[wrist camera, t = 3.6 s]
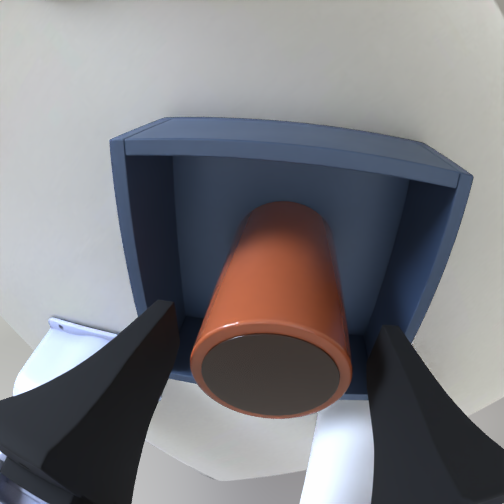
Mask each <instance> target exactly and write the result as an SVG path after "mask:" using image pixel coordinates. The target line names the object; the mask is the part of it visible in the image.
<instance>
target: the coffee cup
mask: <svg viewBox="0 0 504 504" xmlns="http://www.w3.org/2000/svg"><path fill="white" fill-rule="evenodd" d="M190 369H191V372H192V375H193V378H194V380H195V381H196V383H197V384H198V386H199V387H200V388H201V389H202V390H203V392H204V393H206V394H207V395H208V396H209V397H210V398H212V399H213V400H214V401H216V402H218V403H219V404H221V405H223V406H225V407H227V408H229V409H231V410H234V411H237V412H239V413H243V414H246V415H250V416H255V417H261V418H271V419H285V418H296V417H302V416H306V415H310V414H313V413H316V412H319V411H321V410H323V409H325V408H327V407H329V406H331V405H332V404H334V403H335V402H337V401H338V400H339V399H340V398H341V397H342V396H343V395H344V394H345V392H346V391H347V389H348V387H349V386H350V383H351V380H352V376H353V367H352V358H351V349H350V341H349V332H348V325H347V317H346V310H345V303H344V296H343V290H342V283H341V277H340V271H339V265H338V259H337V253H336V247H335V242H334V237H333V234H332V231H331V229H330V227H329V225H328V224H327V222H326V221H325V220H324V218H323V217H322V216H321V215H319V214H318V213H317V212H316V211H314V210H313V209H311V208H309V207H307V206H305V205H302V204H299V203H295V202H289V201H278V202H271V203H267V204H264V205H261V206H259V207H257V208H255V209H254V210H253V211H251V212H250V213H249V214H248V215H246V216H245V217H244V219H243V220H242V221H241V223H240V224H239V226H238V228H237V231H236V233H235V236H234V238H233V241H232V244H231V246H230V249H229V251H228V254H227V257H226V259H225V262H224V265H223V267H222V270H221V273H220V275H219V278H218V281H217V283H216V286H215V289H214V292H213V294H212V297H211V300H210V302H209V305H208V308H207V311H206V313H205V316H204V319H203V321H202V324H201V327H200V330H199V333H198V335H197V338H196V341H195V344H194V346H193V349H192V352H191V356H190Z"/></svg>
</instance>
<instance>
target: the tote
mask: <svg viewBox="0 0 504 504" xmlns="http://www.w3.org/2000/svg"><path fill="white" fill-rule="evenodd" d="M110 153H111V163H112V173H113V181H114V190H115V197H116V205H117V212H118V218H119V225H120V231H121V237H122V243H123V248H124V254H125V259H126V264H127V269H128V274H129V279H130V284H131V288H132V293H133V297H134V302H135V306H136V310H137V314H138V317H139V316H140V315H141V314H142V313H143V312H144V311H145V310H147V309H148V308H149V307H150V306H151V305H152V304H153V303H155V302H156V301H157V300H158V299H159V300H165V301H171V302H174V304H175V311H176V317H177V324H178V331H179V337H180V345H179V349H178V352H177V356H176V359H175V363H174V366H173V369H172V371H171V373H170V376H169V378H170V379H175V380H179V381H185V382H190V383H195V384H197V383H196V381H195V380H194V378H193V375H192V372H191V369H190V356H191V352H192V349H193V346H194V344H195V341H196V338H197V335H198V333H199V330H200V327H201V324H202V321H203V319H204V316H205V313H206V311H207V308H208V305H209V302H210V300H211V297H212V294H213V292H214V289H215V286H216V283H217V281H218V278H219V275H220V273H221V270H222V267H223V265H224V262H225V259H226V257H227V254H228V251H229V249H230V246H231V244H232V241H233V238H234V236H235V233H236V231H237V228H238V226H239V224H240V223H241V221H242V220H243V219H244V217H245V216H246V215H248V214H249V213H250V212H251V211H253V210H254V209H255V208H257V207H259V206H261V205H264V204H267V203H271V202H278V201H289V202H295V203H299V204H302V205H305V206H307V207H309V208H311V209H313V210H314V211H316V212H317V213H318V214H319V215H321V216H322V217H323V218H324V220H325V221H326V222H327V224H328V225H329V227H330V229H331V231H332V234H333V237H334V242H335V247H336V253H337V259H338V265H339V271H340V277H341V283H342V290H343V296H344V303H345V310H346V317H347V325H348V332H349V341H350V349H351V358H352V367H353V376H352V380H351V383H350V386H349V387H348V389H347V391H346V392H345V394H344V395H343V396H342V397H341V398H340V399H339V400H368V393H367V377H366V362H367V360H368V358H369V356H370V353H371V351H372V349H373V346H374V344H375V342H376V339H377V337H378V335H379V332H380V330H381V327H382V325H396V326H399V327H400V329H401V330H402V331H403V333H404V334H405V336H406V337H407V339H408V340H409V342H410V343H412V341H413V339H414V337H415V335H416V333H417V331H418V329H419V327H420V325H421V323H422V321H423V319H424V317H425V314H426V312H427V310H428V308H429V305H430V303H431V301H432V299H433V296H434V294H435V292H436V289H437V287H438V284H439V282H440V279H441V277H442V274H443V272H444V269H445V267H446V264H447V261H448V259H449V256H450V253H451V250H452V248H453V245H454V242H455V239H456V236H457V233H458V230H459V227H460V224H461V220H462V217H463V214H464V211H465V207H466V204H467V200H468V197H469V193H470V189H471V185H472V181H473V175H471V174H470V173H469V172H467V171H466V170H464V169H463V168H461V167H460V166H459V165H457V164H456V163H454V162H453V161H451V160H450V159H448V158H447V157H445V156H444V155H442V154H441V153H439V152H437V151H436V150H434V149H433V148H431V147H430V146H428V145H426V144H425V143H422V142H418V141H413V140H409V139H404V138H399V137H394V136H389V135H383V134H378V133H372V132H366V131H360V130H354V129H347V128H340V127H333V126H325V125H317V124H308V123H298V122H288V121H276V120H262V119H244V118H217V117H166V118H162V119H159V120H157V121H154V122H151V123H149V124H146V125H144V126H141V127H139V128H136V129H134V130H131V131H129V132H127V133H124V134H122V135H119V136H117V137H115V138H113V139H110Z"/></svg>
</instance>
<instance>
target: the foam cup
mask: <svg viewBox="0 0 504 504" xmlns="http://www.w3.org/2000/svg"><path fill="white" fill-rule="evenodd" d="M373 473H374V441H373V432H372V424H371V416H370V408H369V401H368V400H338V401H337V402H335V403H334V404H332V405H331V406H329V407H327V408H325V409H323V410H321V411H319V412H318V415H317V421H316V427H315V433H314V438H313V443H312V448H311V454H310V459H309V463H308V468H307V473H306V478H305V482H304V487H303V491H302V495H301V500H300V504H371V498H372V488H373Z"/></svg>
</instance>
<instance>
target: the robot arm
mask: <svg viewBox="0 0 504 504" xmlns="http://www.w3.org/2000/svg"><path fill="white" fill-rule="evenodd" d="M48 322H49V325H50V327H51V329H50V330H49V332H48V333H47V334H46V336H45V337H44V339H43V340H42V341H41V343H40V344H39V345H38V347H37V348H36V350H35V351H34V352H33V354H32V355H31V357H30V358H29V359H28V361H27V362H26V364H25V365H24V367H23V368H22V370H21V371H20V373H19V374H18V376H17V379H16V382H15V385H14V390H13V396H12V397H9V398H6V399H3V400H1V401H0V504H131V503H132V496H133V490H134V484H135V479H136V475H137V469H138V465H139V461H140V457H141V453H142V448H143V445H144V441H145V438H146V434H147V431H148V427H149V424H150V421H151V418H152V416H153V413H154V411H155V409H156V406H157V404H158V401H160V400H161V398H162V395H161V394H162V392H163V390H164V388H165V385H166V383H167V380H168V378H169V376H170V373H171V371H172V369H173V366H174V363H175V359H176V356H177V352H178V349H179V345H180V337H179V331H178V324H177V317H176V311H175V304H174V302H171V301H165V300H159V299H158V300H157V301H156V302H155V303H153V304H152V305H151V306H150V307H149V308H148V309H147V310H145V311H144V312H143V313H142V314H141V315H140V316H139V317H138V318H137V319H135V320H134V321H133V322H132V323H131V324H130V325H129V326H128V327H126V328H125V329H124V330H123V331H122V332H121V333H119V334H118V335H117V334H113V333H109V332H105V331H101V330H97V329H93V328H89V327H85V326H81V325H78V324H74V323H70V322H67V321H63V320H60V319H56V318H52V317H51V318H50V319H49V321H48ZM366 377H367V393H368V401H369V408H370V416H371V424H372V432H373V441H374V473H373V488H372V498H371V504H502V503H504V449H503V448H502V447H501V446H499V445H498V444H497V443H496V442H494V441H493V440H492V439H491V438H489V437H488V436H487V435H486V434H485V433H484V432H483V431H481V430H480V429H479V428H478V427H477V426H476V425H475V424H474V423H473V422H472V421H471V420H470V419H469V418H468V417H467V416H466V415H465V414H464V413H463V412H462V410H461V409H460V408H459V407H458V406H457V405H456V404H455V403H454V402H453V400H452V399H451V398H450V397H449V396H448V394H447V393H446V392H445V391H444V389H443V388H442V387H441V385H440V384H439V383H438V382H437V380H436V379H435V378H434V376H433V375H432V373H431V372H430V371H429V369H428V368H427V366H426V365H425V364H424V362H423V361H422V359H421V358H420V356H419V355H418V353H417V352H416V351H415V349H414V348H413V346H412V345H411V343H410V342H409V340H408V339H407V337H406V336H405V334H404V333H403V331H402V330H401V329H400V327H399V326H396V325H382V327H381V330H380V332H379V335H378V337H377V339H376V342H375V344H374V346H373V349H372V351H371V353H370V356H369V358H368V360H367V362H366Z"/></svg>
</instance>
